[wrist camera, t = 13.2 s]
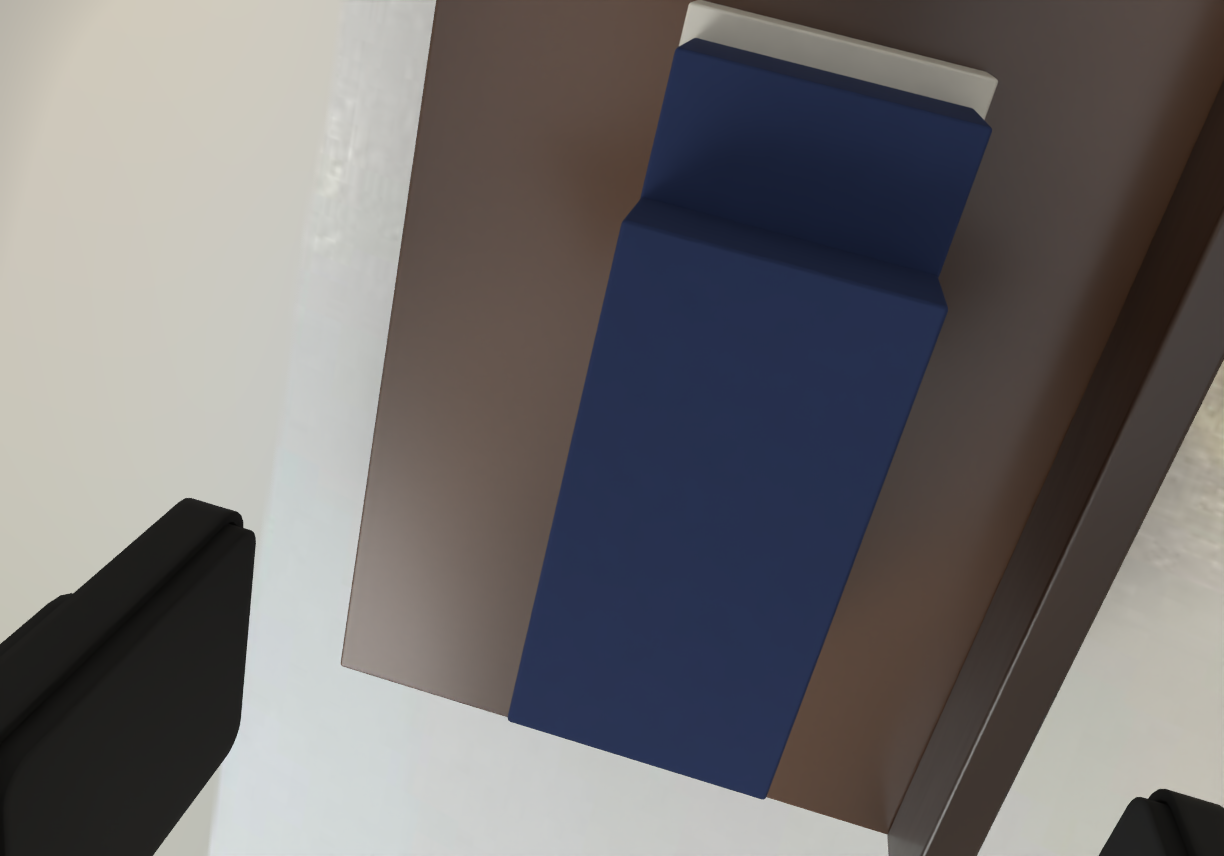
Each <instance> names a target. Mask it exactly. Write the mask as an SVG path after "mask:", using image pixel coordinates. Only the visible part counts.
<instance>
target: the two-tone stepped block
mask: <svg viewBox="0 0 1224 856" xmlns="http://www.w3.org/2000/svg"><path fill="white" fill-rule="evenodd" d="M997 84H998V80H997V79H996V78H994V77H993V76H992V75H990V74H989V73H987V72H985V71H981V70H977V69H973V68H969V67H965V66H961V65H957V64H953V63H949V62H945V61H941V60H937V59H933V58H929V57H925V56H921V55H918V54H914V53H910V52H906V51H902V50H898V49H894V48H890V47H886V46H882V45H878V44H874V43H870V42H866V41H862V40H858V39H854V38H850V37H846V36H842V35H838V34H834V33H830V32H826V31H822V30H818V29H814V28H810V27H806V26H802V25H799V24H795V23H791V22H787V21H783V20H779V19H775V18H771V17H767V16H763V15H759V14H755V13H751V12H747V11H743V10H739V9H735V8H731V7H727V6H723V5H719V4H715V3H711V2H707V1H703V0H697V1H694V2H690V4H689V5H688V10H687V14H686V18H685V22H684V26H683V31H682V35H681V39H680V43H679V47H677V48H676V50H675V53H674V57H673V61H672V66H671V70H670V74H669V78H668V83H667V87H666V91H665V95H664V100H663V104H662V108H661V112H660V117H659V121H658V125H657V129H656V134H655V138H654V142H653V146H652V151H651V155H650V159H649V163H648V167H647V172H646V176H645V180H644V184H643V189H642V193H641V197H640V200H639V201H638V203H637V204H636V205H635V206H634V208H633V209H632V210H631V211H630V212H629V214H628V215H627V216H626V217H625V219H624V220H623V221H622V223H621V227H620V232H619V236H618V240H617V245H616V249H615V253H614V258H613V262H612V266H611V271H610V275H609V279H608V284H607V288H606V292H605V297H604V301H603V305H602V310H601V314H600V318H599V323H598V327H597V331H596V336H595V340H594V344H593V349H592V353H591V357H590V362H589V366H588V370H587V375H586V379H585V383H584V388H583V392H582V396H581V401H580V405H579V409H578V414H577V418H576V422H575V427H574V431H573V435H572V440H571V444H570V448H569V453H568V457H567V461H566V466H565V470H564V475H563V479H562V483H561V488H560V492H559V496H558V501H557V505H556V509H555V514H554V518H553V522H552V527H551V531H550V535H549V540H548V544H547V548H546V553H545V557H544V561H543V566H542V570H541V574H540V579H539V583H538V587H537V592H536V596H535V600H534V605H533V609H532V613H531V618H530V622H529V626H528V631H527V635H526V639H525V644H524V648H523V652H522V657H521V661H520V665H519V670H518V674H517V678H516V683H515V687H514V691H513V696H512V700H511V704H510V709H509V713H508V720H509V721H510V722H513V723H516V724H520V725H523V726H526V727H529V728H533V729H536V730H539V731H542V732H546V733H549V734H552V735H555V736H559V737H562V738H565V739H568V740H572V741H575V742H578V743H581V744H584V745H588V746H591V747H594V748H597V749H601V750H604V751H607V752H610V753H614V754H617V755H620V756H623V757H627V758H630V759H633V760H636V761H640V762H643V763H646V764H649V765H652V766H656V767H659V768H662V769H665V770H669V771H672V772H675V773H678V774H682V775H685V776H688V777H691V778H695V779H698V780H701V781H704V782H708V783H711V784H714V785H717V786H720V787H724V788H727V789H730V790H733V791H737V792H740V793H743V794H746V795H750V796H753V797H756V798H759V799H765V798H766V797H767V794H768V791H769V789H770V786H771V783H772V781H773V778H774V775H775V773H776V770H777V767H778V765H779V762H780V759H781V757H782V754H783V751H784V749H785V746H786V743H787V741H788V738H789V735H790V733H791V730H792V727H793V725H794V722H795V719H796V716H797V714H798V711H799V708H800V706H801V703H802V700H803V698H804V695H805V692H806V690H807V687H808V684H809V682H810V679H811V676H812V674H813V671H814V668H815V666H816V663H817V660H818V658H819V655H820V652H821V650H822V647H823V644H824V642H825V639H826V636H827V634H828V631H829V628H830V625H831V623H832V620H833V617H834V615H835V612H836V609H837V607H838V604H839V601H840V599H841V596H842V593H843V591H844V588H845V585H846V583H847V580H848V577H849V575H850V572H851V569H852V567H853V564H854V561H855V559H856V556H857V553H858V551H859V548H860V545H861V543H862V540H863V537H864V534H865V532H866V529H867V526H868V524H869V521H870V518H871V516H872V513H873V510H874V508H875V505H876V502H877V500H878V497H879V494H880V492H881V489H882V486H883V484H884V481H885V478H886V476H887V473H888V470H889V468H890V465H891V462H892V460H893V457H894V454H895V452H896V449H897V446H898V443H899V441H900V438H901V435H902V433H903V430H904V427H905V425H906V422H907V419H908V417H909V414H910V411H911V409H912V406H913V403H914V401H915V398H916V395H917V393H918V390H919V387H920V385H921V382H922V379H923V377H924V374H925V371H926V369H927V366H928V363H929V361H930V358H931V355H932V352H933V350H934V347H935V344H936V342H937V339H938V336H939V334H940V331H941V328H942V326H943V323H944V320H945V318H946V315H947V312H948V306H947V303H946V300H945V297H944V294H943V291H942V288H941V285H940V282H939V279H938V278H939V276H940V273H941V270H942V267H943V265H944V262H945V259H946V256H947V254H948V251H949V248H950V245H951V243H952V240H953V237H954V234H955V232H956V229H957V226H958V223H959V221H960V218H961V215H962V213H963V210H964V207H965V204H966V202H967V199H968V196H969V193H970V191H971V188H972V185H973V182H974V180H975V177H976V174H977V171H978V169H979V166H980V163H981V160H982V158H983V155H984V152H985V149H986V147H987V144H988V141H989V138H990V136H991V133H992V128H991V127H990V126H989V125H988V124H987V122H986V121H985V117H986V114H987V112H988V109H989V106H990V103H991V100H992V98H993V95H994V92H995V89H996V87H997Z"/></svg>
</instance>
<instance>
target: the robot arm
mask: <svg viewBox="0 0 1224 856" xmlns="http://www.w3.org/2000/svg"><path fill="white" fill-rule="evenodd" d="M255 545H256V538H255V534H254V532H253V531H251V530H248V529H245V528H243V520H242V516H241V515H240V514H239V513H238V512H236V511H233V510H229V509H226V508H222V507H219V506H215V505H212V504H209V503H206V502H202V501H199V500H196V499H192V498H185V499H183V500H182V501H180V502H179V503H178V504H176V505H175V506H174V507H173V508H172V509H170V510H169V511H168V512H167V513H166V514H165V515H164V516H162V517H161V518H160V519H159V520H158V521H157V522H155V523H154V524H153V525H152V526H151V527H150V528H148V529H147V530H146V531H145V532H144V533H143V534H142V535H141V536H139V537H138V538H137V539H136V540H135V541H134V542H132V543H131V544H130V545H129V546H128V547H127V548H125V549H124V550H123V551H122V552H121V553H120V554H119V555H117V556H116V557H115V558H114V559H113V560H112V561H111V562H109V563H108V564H107V565H106V566H105V567H104V568H102V569H101V570H100V571H99V572H98V573H97V574H95V575H94V576H93V577H92V578H91V579H90V580H89V581H87V582H86V583H85V584H84V585H83V586H82V587H80V588H79V589H78V590H77V591H76V592H75V593H73V594H72V593H70V594H66V595H61V596H59V597H58V598H56V599H55V600H53V601H51V602H50V603H48V604H47V605H46V606H45V607H44V608H42V609H41V610H40V611H39V612H38V613H36V614H35V615H34V616H33V617H32V618H31V619H29V620H28V621H27V622H26V623H25V624H23V625H22V626H21V627H20V628H19V629H18V630H16V631H15V632H14V633H13V634H12V635H11V636H9V637H8V638H7V639H6V640H5V641H3V642H2V643H1V644H0V856H153V855H154V853H155V852H156V850H157V849H158V848H159V846H160V845H161V844H162V842H163V841H164V839H165V838H166V837H167V836H168V834H169V833H170V832H171V830H172V829H173V828H174V826H175V825H176V824H177V822H178V821H179V819H180V818H181V817H182V815H183V814H184V813H185V811H186V810H187V809H188V807H189V806H190V805H191V803H192V802H193V801H194V799H195V798H196V797H197V795H198V794H199V793H200V791H201V790H202V789H203V787H204V786H205V785H206V783H207V782H208V780H209V779H210V778H211V776H212V775H213V774H214V772H215V771H216V770H217V768H218V767H219V766H220V764H221V763H222V762H223V760H224V759H225V758H226V756H227V754H228V753H229V751H230V750H231V748H232V746H233V744H234V741H235V739H236V736H237V733H238V730H239V726H240V720H241V710H242V698H243V686H244V674H245V663H246V651H247V639H248V627H249V615H250V604H251V592H252V580H253V568H254V557H255ZM1099 856H1224V808H1223V807H1221V806H1220V805H1217V804H1214V803H1211V802H1207V801H1204V800H1201V799H1197V798H1194V797H1191V796H1187V795H1184V794H1180V793H1177V792H1174V791H1170V790H1167V789H1158V790H1157V791H1155V792H1154V793H1152V794H1151V796H1150V797H1149V798H1148V799H1146V798H1143V797H1136V798H1135V799H1133V800H1132V801H1131V802H1130V804H1129V805H1128V806H1127V808H1126V810H1125V811H1124V813H1123V815H1122V816H1121V818H1120V820H1119V822H1118V823H1117V825H1116V827H1115V828H1114V830H1113V832H1112V834H1111V835H1110V837H1109V839H1108V840H1107V842H1106V844H1105V846H1104V847H1103V849H1102V851H1101V852H1100V854H1099Z"/></svg>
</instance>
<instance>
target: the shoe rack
mask: <svg viewBox="0 0 1224 856" xmlns="http://www.w3.org/2000/svg"><path fill="white" fill-rule="evenodd" d="M694 1H697V0H436V6H435V13H434V20H433V27H432V34H431V41H430V48H429V54H428V61H427V68H426V75H425V82H424V89H423V96H422V103H421V110H420V117H419V124H418V131H417V138H416V145H415V152H414V159H413V165H412V172H411V179H410V186H409V193H408V200H407V207H406V214H405V221H404V228H403V235H402V242H401V249H400V256H399V263H398V269H397V276H396V283H395V290H394V297H393V304H392V311H391V318H390V325H389V332H388V339H387V346H386V353H385V360H384V367H383V374H382V380H381V387H380V394H379V401H378V408H377V415H376V422H375V429H374V436H373V443H372V450H371V457H370V464H369V471H368V478H367V485H366V491H365V498H364V505H363V512H362V519H361V526H360V533H359V540H358V547H357V554H356V561H355V568H354V575H353V582H352V589H351V596H350V602H349V609H348V616H347V623H346V630H345V637H344V644H343V651H342V658H341V665H342V666H344V667H347V668H350V669H353V670H356V671H360V672H363V673H366V674H369V675H373V676H376V677H379V678H382V679H386V680H389V681H392V682H395V683H399V684H402V685H405V686H408V687H412V688H415V689H418V690H421V691H425V692H428V693H431V694H434V695H437V696H441V697H444V698H447V699H450V700H454V701H457V702H460V703H463V704H467V705H470V706H473V707H476V708H480V709H483V710H486V711H489V712H493V713H496V714H499V715H502V716H506V717H508V713H509V709H510V704H511V700H512V696H513V691H514V687H515V683H516V678H517V674H518V670H519V665H520V661H521V657H522V652H523V648H524V644H525V639H526V635H527V631H528V626H529V622H530V618H531V613H532V609H533V605H534V600H535V596H536V592H537V587H538V583H539V579H540V574H541V570H542V566H543V561H544V557H545V553H546V548H547V544H548V540H549V535H550V531H551V527H552V522H553V518H554V514H555V509H556V505H557V501H558V496H559V492H560V488H561V483H562V479H563V475H564V470H565V466H566V461H567V457H568V453H569V448H570V444H571V440H572V435H573V431H574V427H575V422H576V418H577V414H578V409H579V405H580V401H581V396H582V392H583V388H584V383H585V379H586V375H587V370H588V366H589V362H590V357H591V353H592V349H593V344H594V340H595V336H596V331H597V327H598V323H599V318H600V314H601V310H602V305H603V301H604V297H605V292H606V288H607V284H608V279H609V275H610V271H611V266H612V262H613V258H614V253H615V249H616V245H617V240H618V236H619V232H620V227H621V223H622V221H623V220H624V219H625V217H626V216H627V215H628V214H629V212H630V211H631V210H632V209H633V208H634V206H635V205H636V204H637V203H638V201H639V200H640V197H641V193H642V189H643V184H644V180H645V176H646V172H647V167H648V163H649V159H650V155H651V151H652V146H653V142H654V138H655V134H656V129H657V125H658V121H659V117H660V112H661V108H662V104H663V100H664V95H665V91H666V87H667V83H668V78H669V74H670V70H671V66H672V61H673V57H674V53H675V50H676V48H677V47H679V43H680V39H681V35H682V31H683V26H684V22H685V18H686V14H687V10H688V5H689V4H690V2H694ZM703 1H707V2H711V3H715V4H719V5H723V6H727V7H731V8H735V9H739V10H743V11H747V12H751V13H755V14H759V15H763V16H767V17H771V18H775V19H779V20H783V21H787V22H791V23H795V24H799V25H802V26H806V27H810V28H814V29H818V30H822V31H826V32H830V33H834V34H838V35H842V36H846V37H850V38H854V39H858V40H862V41H866V42H870V43H874V44H878V45H882V46H886V47H890V48H894V49H898V50H902V51H906V52H910V53H914V54H918V55H921V56H925V57H929V58H933V59H937V60H941V61H945V62H949V63H953V64H957V65H961V66H965V67H969V68H973V69H977V70H981V71H985V72H987V73H989V74H990V75H992V76H993V77H994V78H996V79H997V80H998V84H997V87H996V89H995V92H994V95H993V98H992V100H991V103H990V106H989V109H988V112H987V114H986V117H985V121H986V122H987V124H988V125H989V126H990V127H991V128H992V133H991V136H990V138H989V141H988V144H987V147H986V149H985V152H984V155H983V158H982V160H981V163H980V166H979V169H978V171H977V174H976V177H975V180H974V182H973V185H972V188H971V191H970V193H969V196H968V199H967V202H966V204H965V207H964V210H963V213H962V215H961V218H960V221H959V223H958V226H957V229H956V232H955V234H954V237H953V240H952V243H951V245H950V248H949V251H948V254H947V256H946V259H945V262H944V265H943V267H942V270H941V273H940V276H939V278H938V279H939V282H940V285H941V288H942V291H943V294H944V297H945V300H946V303H947V306H948V312H947V315H946V318H945V320H944V323H943V326H942V328H941V331H940V334H939V336H938V339H937V342H936V344H935V347H934V350H933V352H932V355H931V358H930V361H929V363H928V366H927V369H926V371H925V374H924V377H923V379H922V382H921V385H920V387H919V390H918V393H917V395H916V398H915V401H914V403H913V406H912V409H911V411H910V414H909V417H908V419H907V422H906V425H905V427H904V430H903V433H902V435H901V438H900V441H899V443H898V446H897V449H896V452H895V454H894V457H893V460H892V462H891V465H890V468H889V470H888V473H887V476H886V478H885V481H884V484H883V486H882V489H881V492H880V494H879V497H878V500H877V502H876V505H875V508H874V510H873V513H872V516H871V518H870V521H869V524H868V526H867V529H866V532H865V534H864V537H863V540H862V543H861V545H860V548H859V551H858V553H857V556H856V559H855V561H854V564H853V567H852V569H851V572H850V575H849V577H848V580H847V583H846V585H845V588H844V591H843V593H842V596H841V599H840V601H839V604H838V607H837V609H836V612H835V615H834V617H833V620H832V623H831V625H830V628H829V631H828V634H827V636H826V639H825V642H824V644H823V647H822V650H821V652H820V655H819V658H818V660H817V663H816V666H815V668H814V671H813V674H812V676H811V679H810V682H809V684H808V687H807V690H806V692H805V695H804V698H803V700H802V703H801V706H800V708H799V711H798V714H797V716H796V719H795V722H794V725H793V727H792V730H791V733H790V735H789V738H788V741H787V743H786V746H785V749H784V751H783V754H782V757H781V759H780V762H779V765H778V767H777V770H776V773H775V775H774V778H773V781H772V783H771V786H770V789H769V791H768V794H767V797H768V798H771V799H774V800H778V801H781V802H784V803H787V804H791V805H794V806H797V807H800V808H804V809H807V810H810V811H813V812H817V813H820V814H823V815H826V816H830V817H833V818H836V819H839V820H842V821H846V822H849V823H852V824H855V825H859V826H862V827H865V828H868V829H872V830H875V831H878V832H881V833H885V834H888V835H887V836H888V852H889V856H977V854H978V852H979V850H980V848H981V846H982V844H983V842H984V840H985V838H986V836H987V834H988V832H989V830H990V828H991V826H992V824H993V822H994V820H995V818H996V816H997V814H998V812H999V810H1000V808H1001V806H1002V804H1003V802H1004V800H1005V798H1006V796H1007V794H1008V792H1009V790H1010V788H1011V786H1012V784H1013V782H1014V780H1015V778H1016V776H1017V774H1018V772H1019V770H1020V768H1021V766H1022V764H1023V762H1024V760H1025V758H1026V756H1027V754H1028V752H1029V750H1030V748H1031V746H1032V744H1033V742H1034V740H1035V738H1036V736H1037V734H1038V732H1039V730H1040V728H1041V726H1042V724H1043V722H1044V720H1045V718H1046V716H1047V714H1048V711H1049V709H1050V707H1051V705H1052V703H1053V701H1054V699H1055V697H1056V695H1057V693H1058V691H1059V689H1060V687H1061V685H1062V683H1063V681H1064V679H1065V677H1066V675H1067V673H1068V671H1069V669H1070V667H1071V665H1072V663H1073V661H1074V659H1075V657H1076V655H1077V653H1078V651H1079V649H1080V647H1081V645H1082V643H1083V641H1084V639H1085V637H1086V635H1087V633H1088V631H1089V629H1090V627H1091V625H1092V623H1093V621H1094V619H1095V617H1096V615H1097V613H1098V611H1099V609H1100V607H1101V605H1102V603H1103V601H1104V599H1105V597H1106V595H1107V593H1108V591H1109V589H1110V587H1111V585H1112V583H1113V581H1114V579H1115V577H1116V575H1117V573H1118V571H1119V569H1120V567H1121V565H1122V563H1123V561H1124V559H1125V557H1126V555H1127V553H1128V551H1129V549H1130V547H1131V545H1132V543H1133V541H1134V539H1135V537H1136V535H1137V533H1138V531H1139V529H1140V527H1141V525H1142V523H1143V521H1144V519H1145V517H1146V515H1147V513H1148V510H1149V508H1150V506H1151V504H1152V502H1153V500H1154V498H1155V496H1156V494H1157V492H1158V490H1159V488H1160V486H1161V484H1162V482H1163V480H1164V478H1165V476H1166V474H1167V472H1168V470H1169V468H1170V466H1171V464H1172V462H1173V460H1174V458H1175V456H1176V454H1177V452H1178V450H1179V448H1180V446H1181V444H1182V442H1183V440H1184V438H1185V436H1186V434H1187V432H1188V430H1189V428H1190V426H1191V424H1192V422H1193V420H1194V418H1195V416H1196V414H1197V412H1198V410H1199V408H1200V406H1201V404H1202V402H1203V400H1204V398H1205V396H1206V394H1207V392H1208V390H1209V388H1210V386H1211V384H1212V382H1213V380H1214V378H1215V376H1216V374H1217V372H1218V370H1219V368H1220V366H1221V364H1222V362H1223V360H1224V0H703Z"/></svg>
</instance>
